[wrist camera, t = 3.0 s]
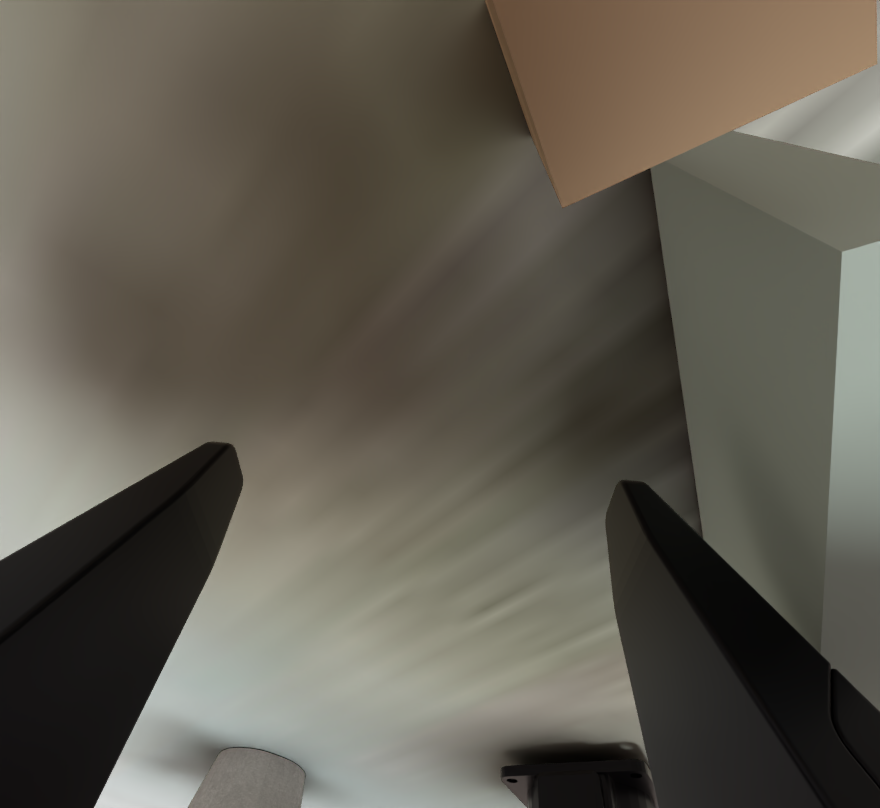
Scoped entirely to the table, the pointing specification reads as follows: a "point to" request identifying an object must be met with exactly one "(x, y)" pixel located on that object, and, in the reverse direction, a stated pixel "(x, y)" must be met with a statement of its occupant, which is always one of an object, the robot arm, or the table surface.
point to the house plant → (250, 781)
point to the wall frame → (665, 74)
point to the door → (783, 376)
